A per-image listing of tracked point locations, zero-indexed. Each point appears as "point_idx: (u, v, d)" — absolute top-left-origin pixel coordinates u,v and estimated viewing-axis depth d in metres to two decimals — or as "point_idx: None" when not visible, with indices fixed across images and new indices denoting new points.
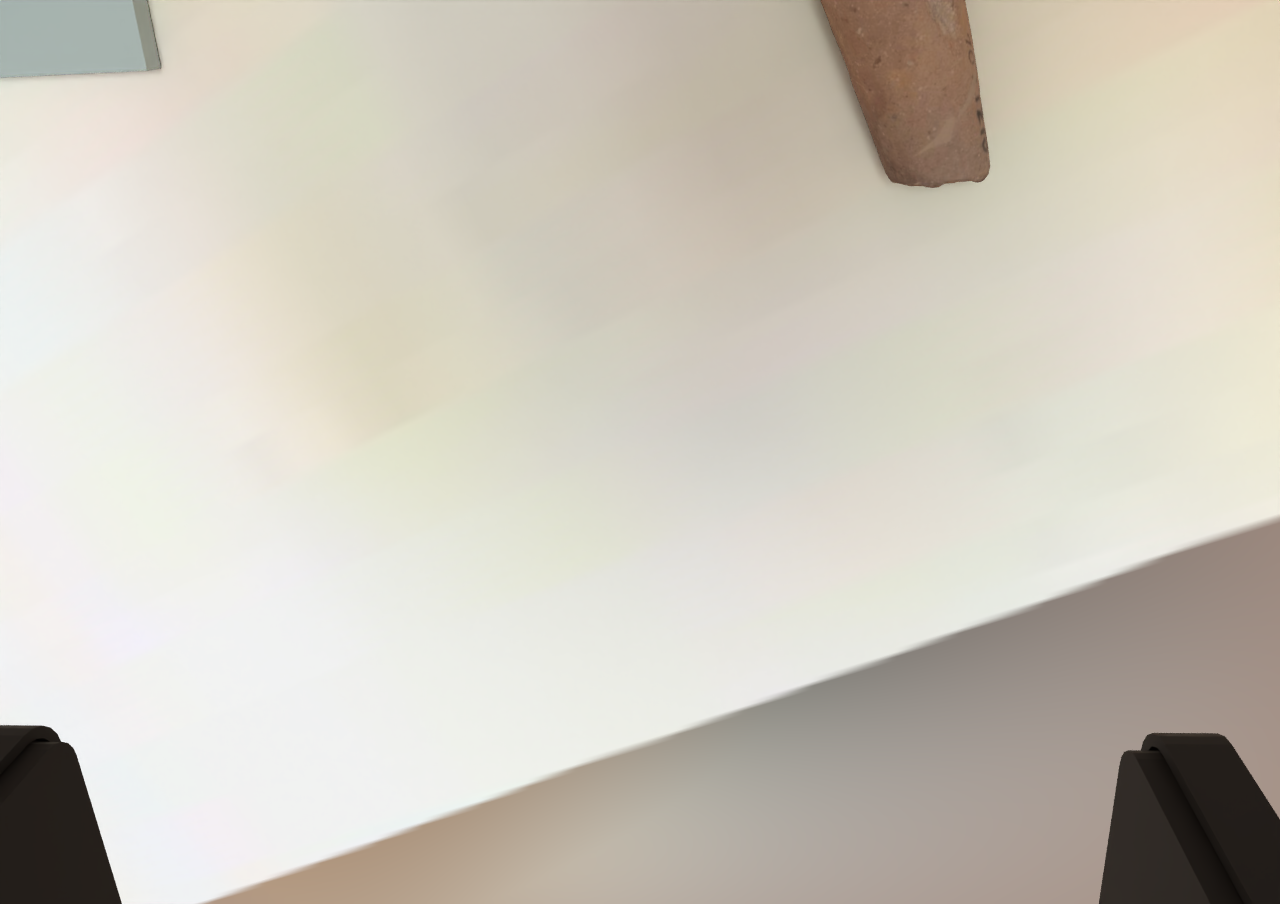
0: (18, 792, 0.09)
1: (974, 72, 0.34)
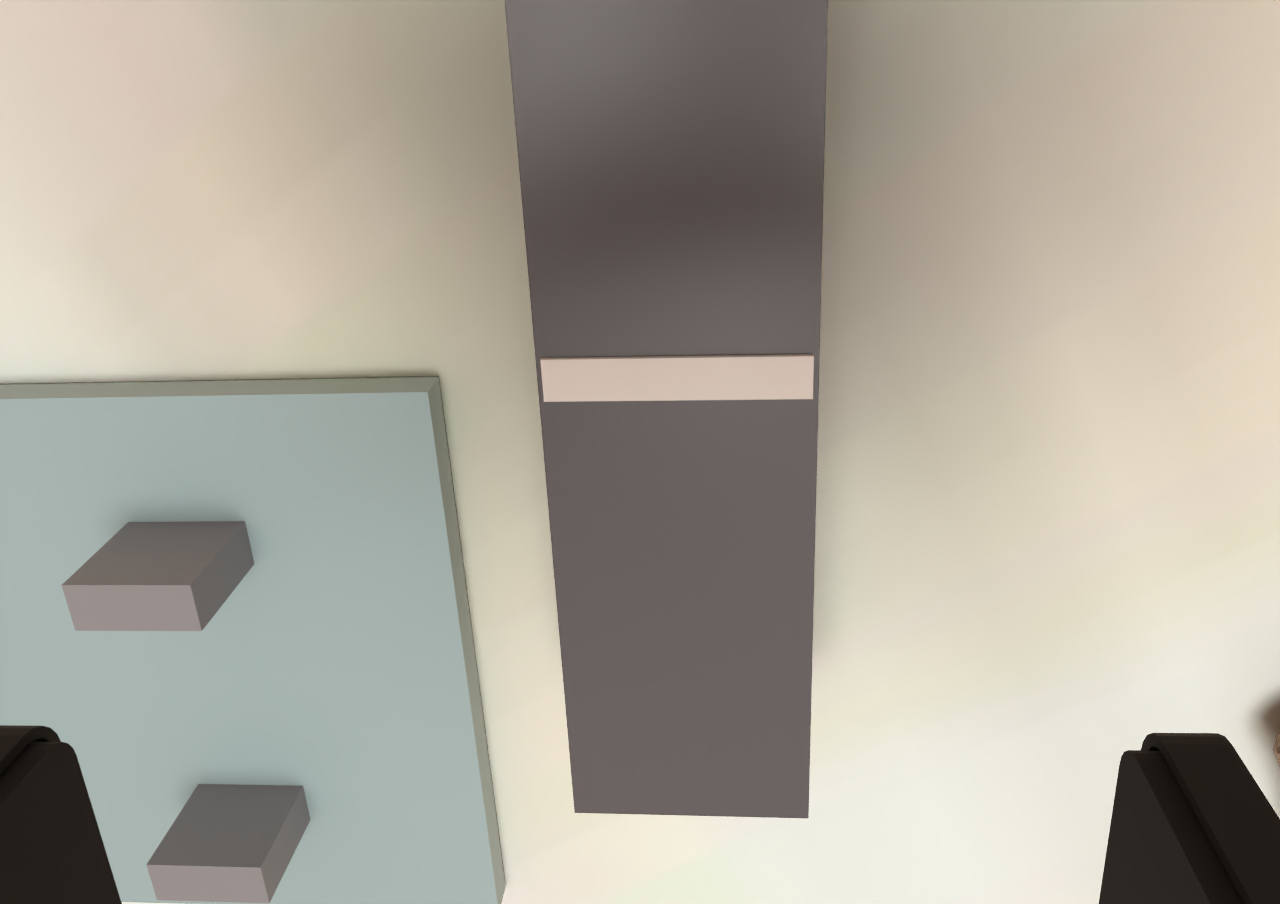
0: (18, 792, 0.09)
1: None
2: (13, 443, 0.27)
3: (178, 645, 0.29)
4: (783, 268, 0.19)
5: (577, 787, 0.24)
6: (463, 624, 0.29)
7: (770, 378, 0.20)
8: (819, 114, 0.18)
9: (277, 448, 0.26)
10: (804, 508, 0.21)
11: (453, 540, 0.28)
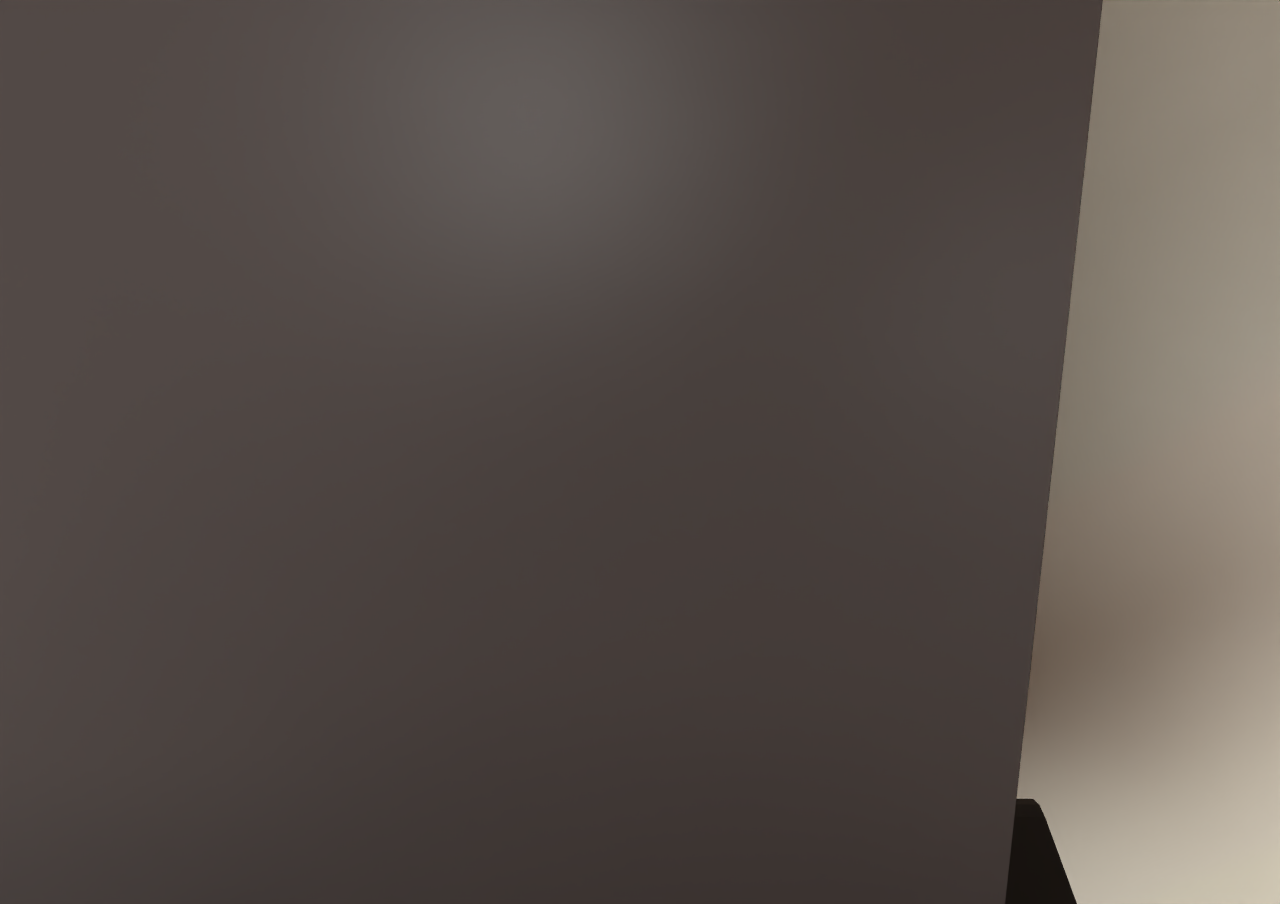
0: None
1: None
2: None
3: None
4: None
5: None
6: None
7: None
8: (999, 731, 0.04)
9: None
10: None
11: None
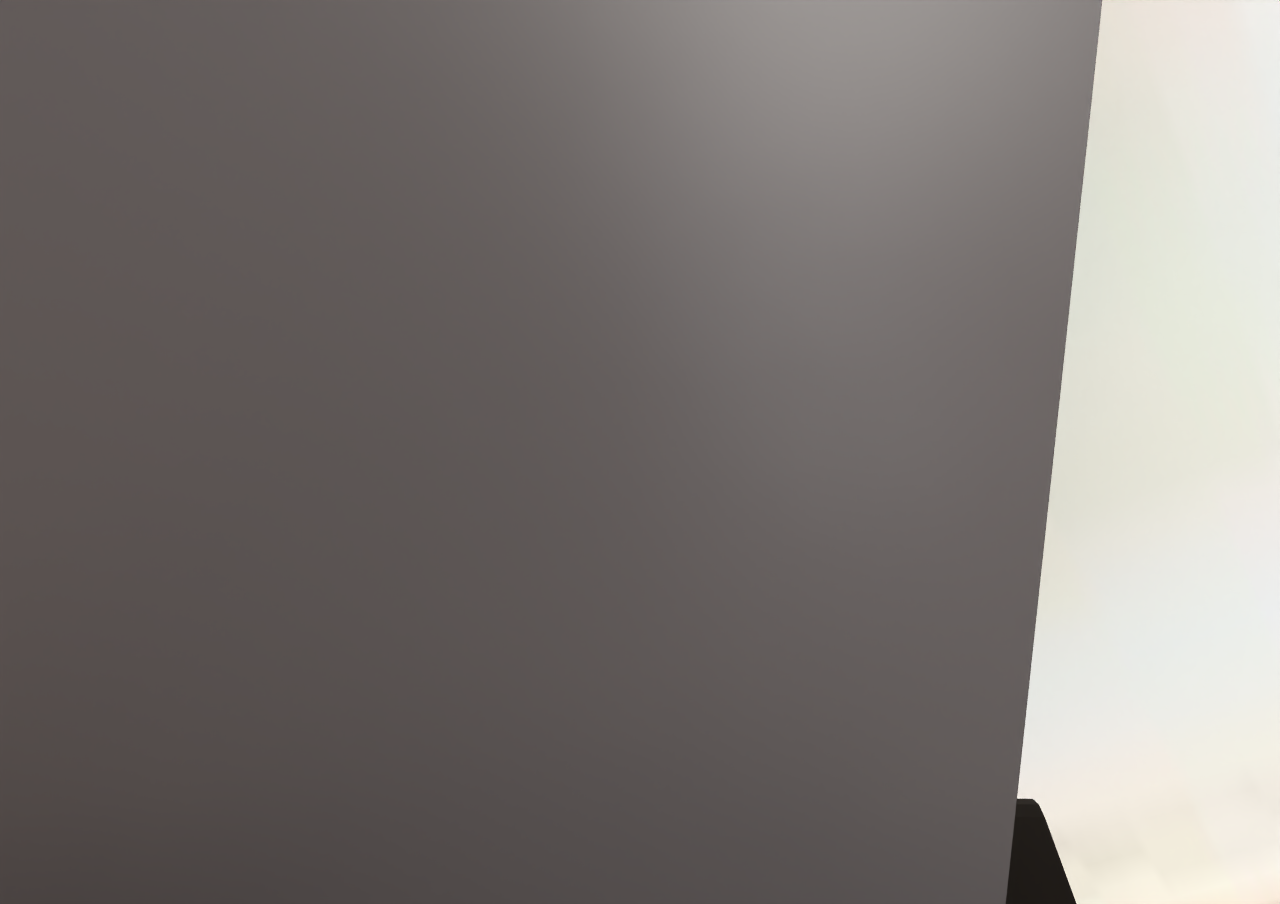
0: None
1: None
2: None
3: None
4: None
5: None
6: None
7: None
8: (998, 743, 0.04)
9: None
10: None
11: None
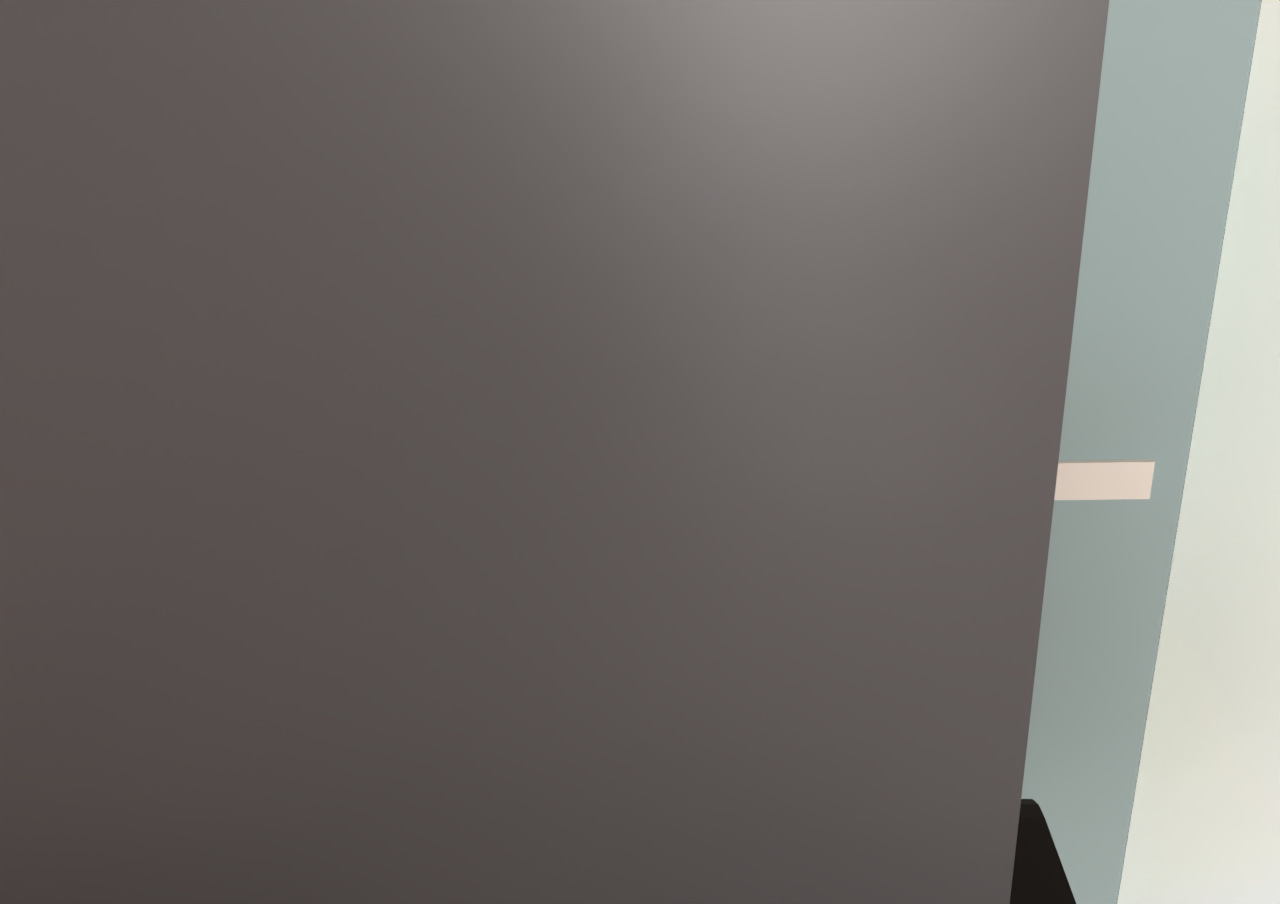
0: None
1: None
2: None
3: None
4: None
5: None
6: None
7: None
8: (1001, 751, 0.04)
9: None
10: None
11: None
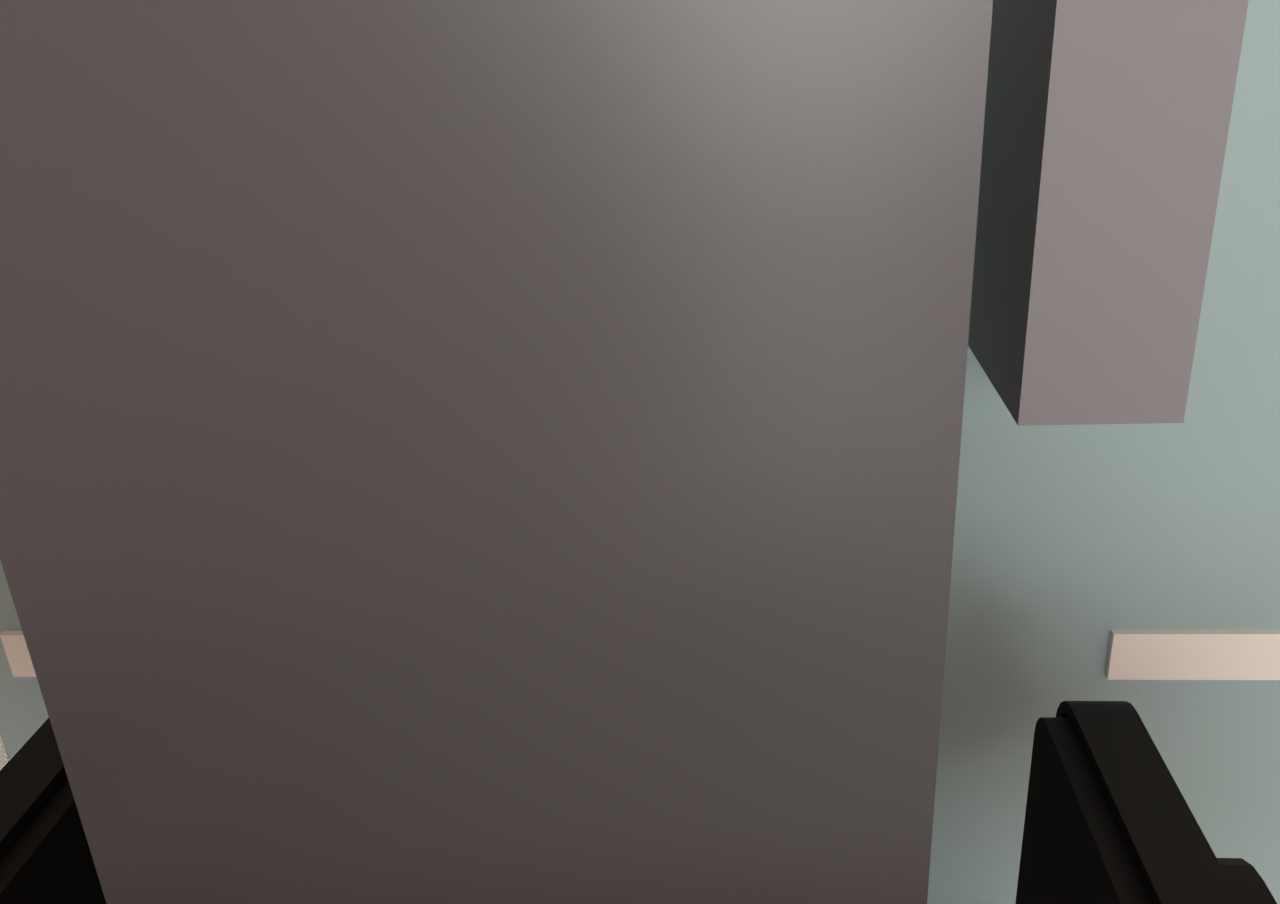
0: None
1: None
2: None
3: None
4: None
5: None
6: None
7: None
8: (933, 562, 0.06)
9: None
10: None
11: None
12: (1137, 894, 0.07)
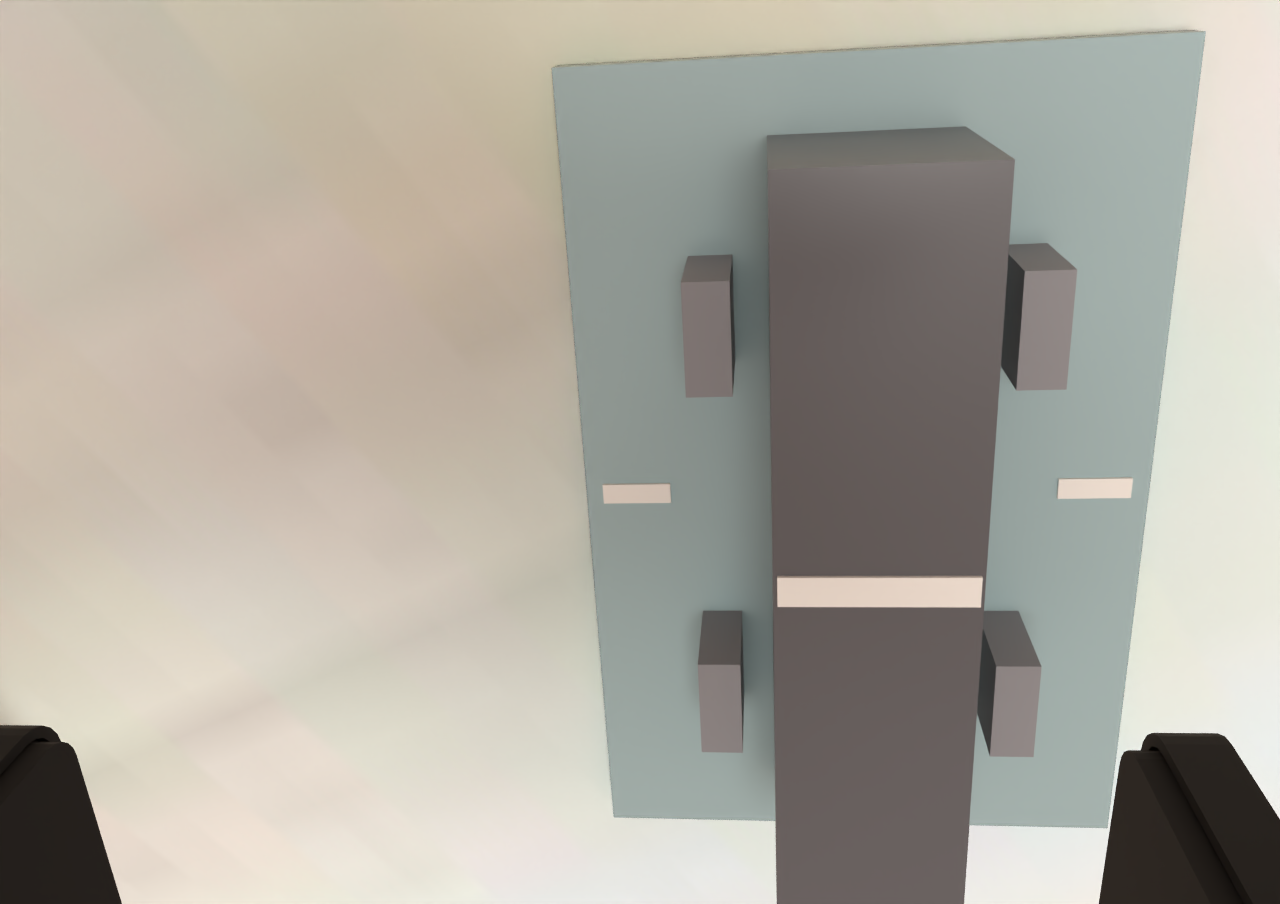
0: (18, 792, 0.09)
1: None
2: (622, 442, 0.33)
3: None
4: (961, 517, 0.26)
5: (780, 889, 0.31)
6: (806, 53, 0.28)
7: (948, 592, 0.27)
8: (993, 415, 0.25)
9: (613, 214, 0.30)
10: (970, 683, 0.28)
11: (712, 58, 0.29)
12: None
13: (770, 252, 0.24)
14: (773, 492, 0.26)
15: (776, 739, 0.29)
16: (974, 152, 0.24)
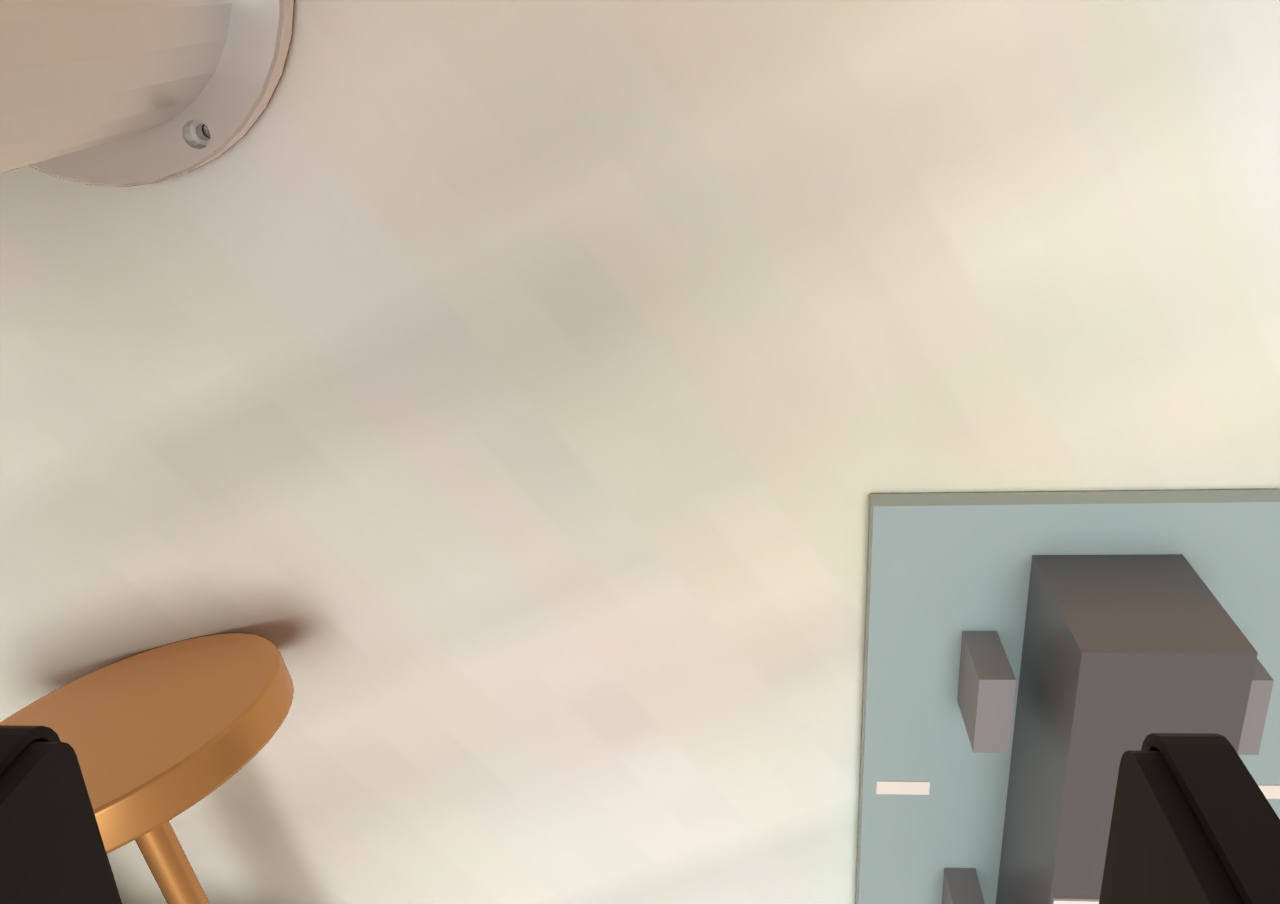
0: (18, 792, 0.09)
1: None
2: (895, 752, 0.42)
3: None
4: None
5: None
6: (1065, 499, 0.38)
7: None
8: None
9: (908, 602, 0.40)
10: None
11: (993, 499, 0.39)
12: None
13: (1076, 701, 0.34)
14: (1057, 846, 0.36)
15: None
16: (1220, 630, 0.34)
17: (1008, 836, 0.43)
